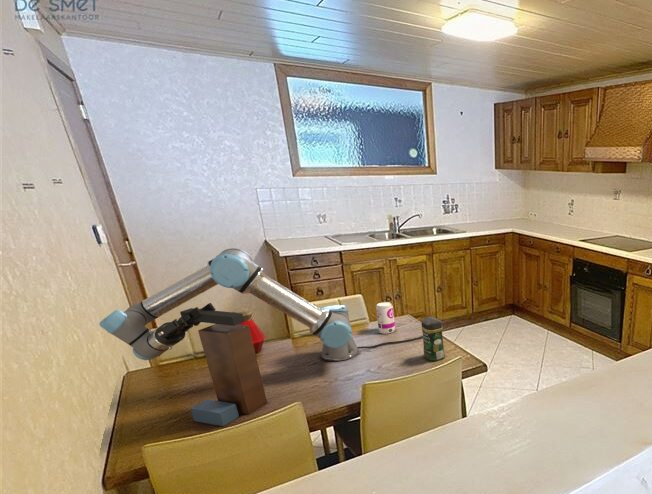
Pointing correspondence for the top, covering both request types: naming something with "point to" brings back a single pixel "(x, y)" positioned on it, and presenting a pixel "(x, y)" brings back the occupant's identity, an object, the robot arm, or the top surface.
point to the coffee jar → (432, 338)
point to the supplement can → (385, 317)
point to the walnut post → (233, 366)
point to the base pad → (215, 412)
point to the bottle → (252, 328)
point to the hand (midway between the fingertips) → (205, 308)
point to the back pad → (217, 317)
